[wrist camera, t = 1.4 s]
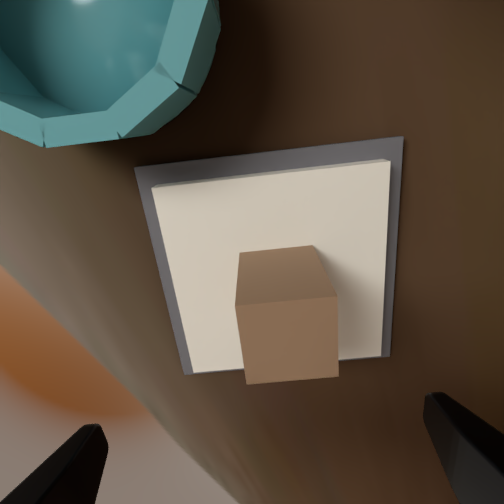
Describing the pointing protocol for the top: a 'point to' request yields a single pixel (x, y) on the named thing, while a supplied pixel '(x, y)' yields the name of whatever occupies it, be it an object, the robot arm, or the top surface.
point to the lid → (279, 267)
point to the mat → (268, 163)
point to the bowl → (101, 66)
